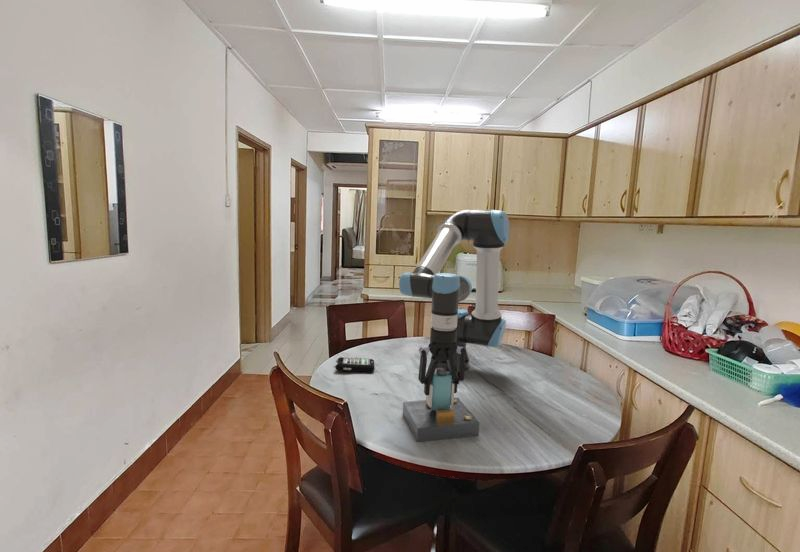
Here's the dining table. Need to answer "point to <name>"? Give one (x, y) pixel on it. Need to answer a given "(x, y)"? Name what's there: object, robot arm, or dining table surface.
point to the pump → (441, 389)
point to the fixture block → (439, 421)
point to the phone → (355, 364)
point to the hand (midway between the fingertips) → (439, 404)
